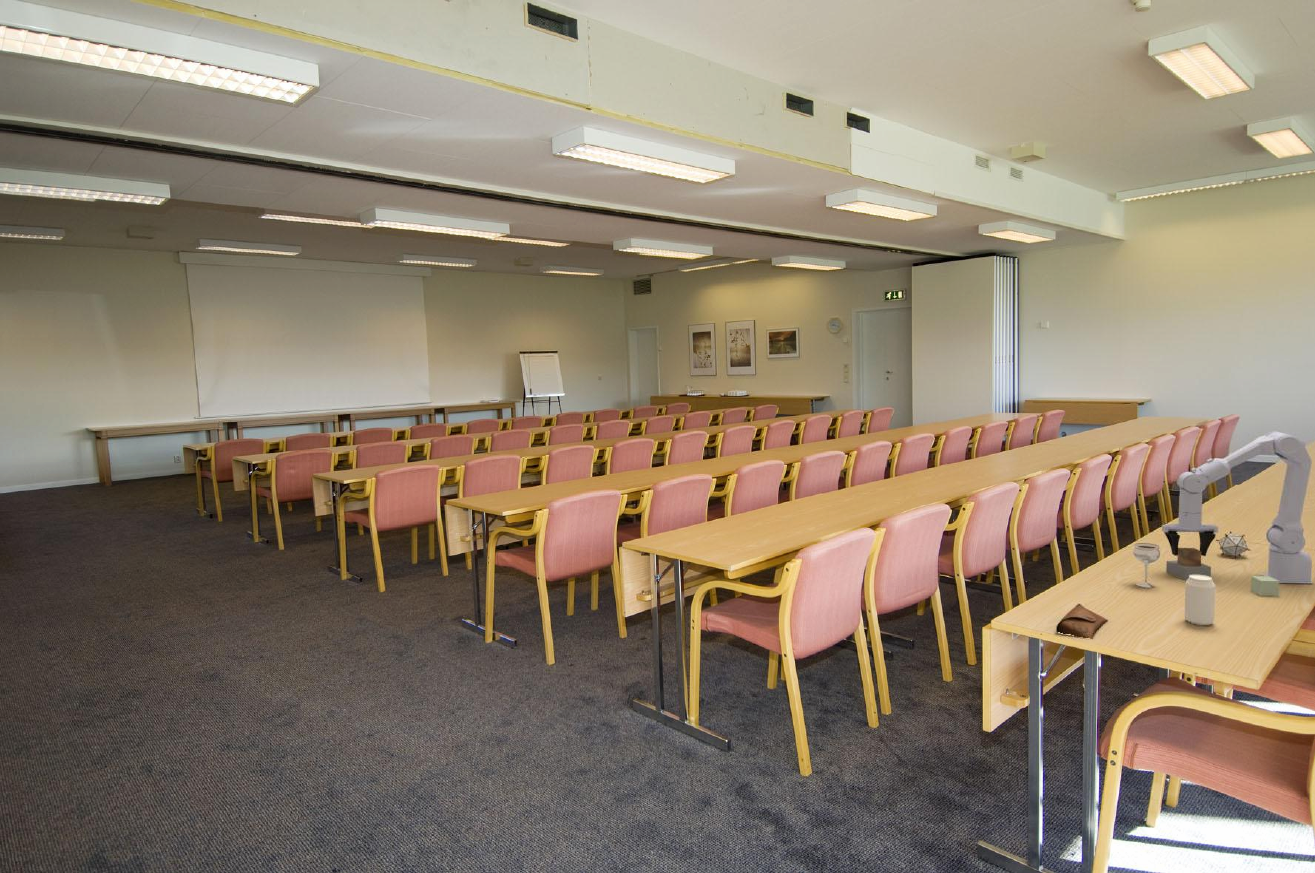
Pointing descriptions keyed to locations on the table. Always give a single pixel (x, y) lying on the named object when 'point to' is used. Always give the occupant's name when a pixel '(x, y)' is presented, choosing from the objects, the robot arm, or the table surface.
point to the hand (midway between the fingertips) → (1188, 555)
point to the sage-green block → (1265, 586)
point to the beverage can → (1200, 600)
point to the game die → (1233, 545)
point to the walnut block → (1189, 557)
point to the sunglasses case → (1080, 622)
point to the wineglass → (1146, 558)
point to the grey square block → (1187, 570)
